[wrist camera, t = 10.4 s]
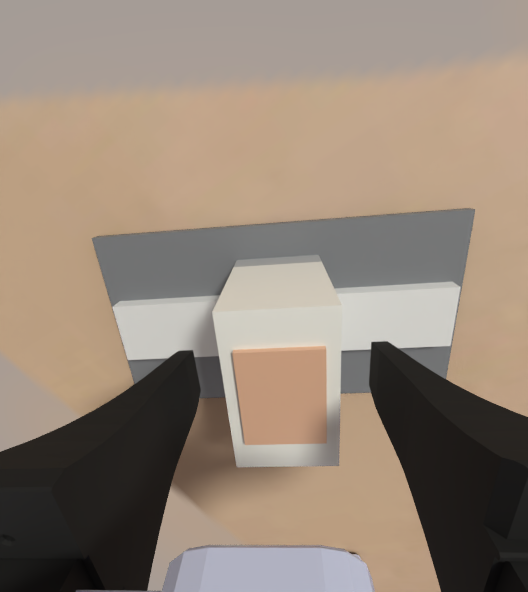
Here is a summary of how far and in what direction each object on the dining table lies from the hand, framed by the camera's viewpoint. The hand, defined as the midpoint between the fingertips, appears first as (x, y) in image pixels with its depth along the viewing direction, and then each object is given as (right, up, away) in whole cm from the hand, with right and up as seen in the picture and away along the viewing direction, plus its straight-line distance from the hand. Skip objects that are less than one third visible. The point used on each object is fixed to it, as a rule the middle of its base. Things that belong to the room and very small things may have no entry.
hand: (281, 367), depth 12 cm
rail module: (0, +2, +4) cm, 4 cm away
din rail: (0, +2, +4) cm, 5 cm away
